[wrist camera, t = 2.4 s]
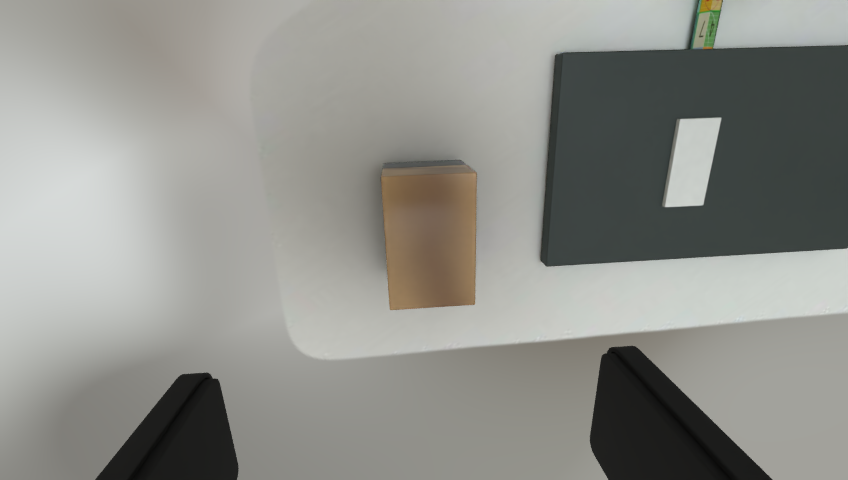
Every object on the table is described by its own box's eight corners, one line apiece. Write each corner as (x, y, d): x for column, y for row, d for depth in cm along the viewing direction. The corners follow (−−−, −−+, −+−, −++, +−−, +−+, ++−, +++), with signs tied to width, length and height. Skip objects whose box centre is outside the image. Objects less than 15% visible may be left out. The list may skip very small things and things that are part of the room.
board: (540, 260, 25) (546, 266, 24) (555, 54, 21) (562, 52, 20) (831, 243, 26) (847, 248, 25) (896, 46, 22) (919, 43, 21)
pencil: (728, -196, 18) (657, 185, 24) (748, -215, 17) (669, 188, 23) (753, -195, 18) (677, 184, 24) (776, -214, 17) (690, 188, 23)
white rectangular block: (661, 206, 23) (664, 207, 23) (676, 118, 22) (680, 119, 21) (699, 204, 24) (703, 205, 23) (717, 117, 22) (721, 117, 22)
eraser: (390, 275, 25) (389, 310, 20) (382, 162, 22) (380, 176, 18) (461, 270, 25) (475, 304, 21) (461, 159, 23) (477, 172, 18)
